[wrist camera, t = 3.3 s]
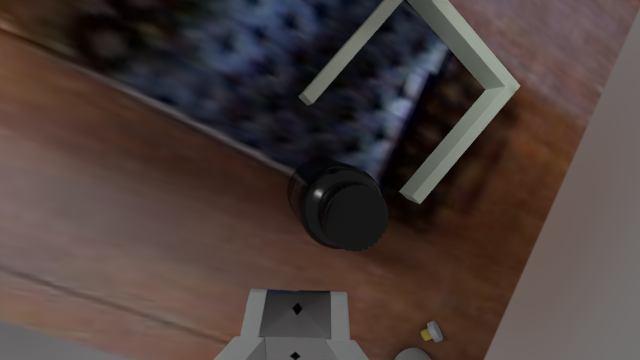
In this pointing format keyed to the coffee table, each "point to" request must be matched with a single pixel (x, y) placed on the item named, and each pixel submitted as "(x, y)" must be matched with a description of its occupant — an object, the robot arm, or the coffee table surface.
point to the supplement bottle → (338, 204)
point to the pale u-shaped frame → (473, 56)
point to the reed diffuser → (413, 356)
